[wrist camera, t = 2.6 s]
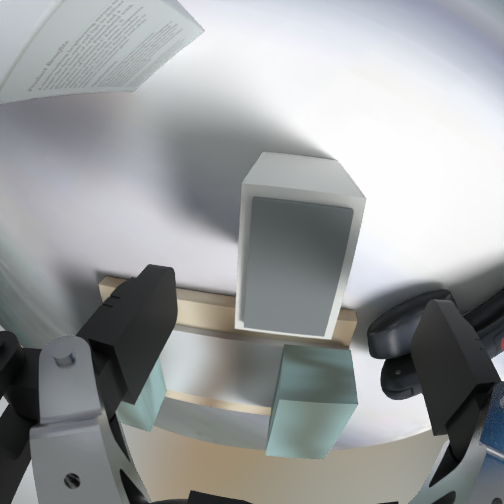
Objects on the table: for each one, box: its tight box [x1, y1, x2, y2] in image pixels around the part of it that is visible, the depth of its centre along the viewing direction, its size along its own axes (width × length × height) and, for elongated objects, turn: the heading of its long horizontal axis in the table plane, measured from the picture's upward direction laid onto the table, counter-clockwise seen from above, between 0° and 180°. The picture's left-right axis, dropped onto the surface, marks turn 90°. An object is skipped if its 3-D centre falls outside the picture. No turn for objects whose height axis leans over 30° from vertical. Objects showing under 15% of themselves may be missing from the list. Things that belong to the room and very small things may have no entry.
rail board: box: [98, 276, 358, 459], centre depth 20 cm, size 18×12×6 cm, turn 86°
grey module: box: [235, 152, 366, 340], centre depth 14 cm, size 4×6×7 cm, turn 176°
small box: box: [0, 0, 204, 105], centre depth 8 cm, size 8×6×10 cm
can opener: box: [367, 289, 504, 400], centre depth 16 cm, size 18×7×6 cm, turn 114°
